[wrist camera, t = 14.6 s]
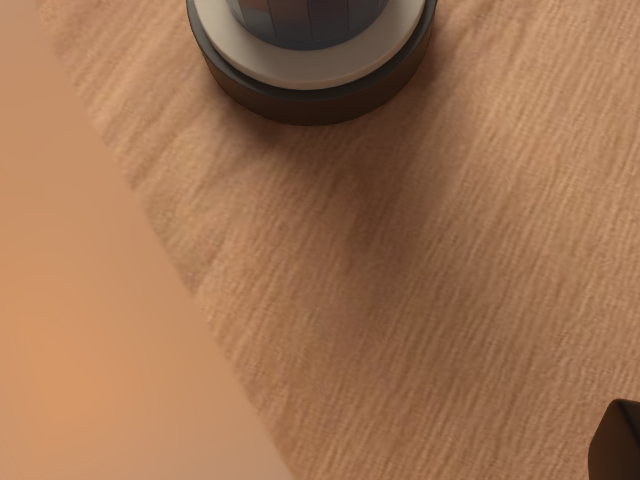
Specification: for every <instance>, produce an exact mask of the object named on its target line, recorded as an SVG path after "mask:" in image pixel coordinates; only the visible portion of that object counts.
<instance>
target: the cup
mask: <svg viewBox="0 0 640 480" xmlns="http://www.w3.org/2000/svg"><path fill="white" fill-rule="evenodd" d="M388 1H389V0H226V2H227V4H228V6H229V8H230V10H231V12H232V14H233V15H234V17H235V18H236V19H237V21H238V22H239V23H240V24H241V25H242V26H243V27H244V28H245V29H246V30H247V31H248V32H250V33H251V34H252V35H254V36H255V37H257V38H259V39H260V40H262V41H264V42H266V43H269V44H271V45H274V46H277V47H281V48H284V49H291V50H303V51H310V50H319V49H324V48H329V47H333V46H336V45H339V44H341V43H344V42H346V41H348V40H350V39H352V38H354V37H355V36H357V35H359V34H360V33H362V32H363V31H364V30H365V29H367V28H368V27H369V26H370V25H371V24H372V23H373V22H374V21H375V20H376V19H377V18H378V17H379V16H380V14H381V13H382V11H383V10H384V9H385V7H386V5H387V3H388Z"/></svg>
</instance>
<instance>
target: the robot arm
mask: <svg viewBox="0 0 640 480" xmlns="http://www.w3.org/2000/svg"><path fill="white" fill-rule="evenodd" d="M588 471H589V480H640V402H637V401H631V400H626V399H615V400H613V401H612V402H611V403H610V404H609V406H608V407H607V409H606V411H605V413H604V416H603V418H602V420H601V422H600V424H599V426H598V428H597V430H596V432H595V435H594V437H593V439H592V441H591V443H590V447H589V452H588Z"/></svg>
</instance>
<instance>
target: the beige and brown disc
mask: <svg viewBox="0 0 640 480" xmlns="http://www.w3.org/2000/svg"><path fill="white" fill-rule="evenodd" d="M186 4H187V13H188V18H189V22H190V26H191V29H192V32H193V34H194V36H195V39H196V41H197V43H198V45H199V47H200V49H201V52H202V54H203V56H204V58H205V60H206V62H207V64H208V66H209V68H210V70H211V72H212V74H213V75H214V77H215V78H216V80H217V81H218V83H219V84H220V85H221V86H222V87H223V89H224V90H225V91H226V92H227V93H228V94H229V95H230V96H231V97H233V98H234V99H235V100H236V101H237V102H238V103H240V104H241V105H243V106H244V107H246V108H247V109H249V110H251V111H253V112H255V113H257V114H259V115H261V116H263V117H266V118H269V119H272V120H275V121H278V122H282V123H288V124H293V125H305V126H316V125H328V124H334V123H340V122H344V121H347V120H350V119H353V118H357V117H359V116H361V115H363V114H366V113H368V112H370V111H372V110H374V109H375V108H377V107H379V106H380V105H382V104H384V103H385V102H386V101H388V100H389V99H390V98H391V97H393V96H394V95H395V94H397V93H398V92H399V91H400V90H401V88H402V87H403V86H404V85H405V84H406V83H407V82H408V81H409V80H410V78H411V77H412V76H413V74H414V73H415V72H416V70H417V68H418V66H419V65H420V63H421V61H422V59H423V57H424V55H425V52H426V49H427V47H428V44H429V39H430V35H431V30H432V25H433V20H434V15H435V9H436V4H437V0H389V1H388V3H387V5H386V7H385V9H384V10H383V11H382V13H381V14H380V16H379V17H378V18H377V19H376V20H375V21H374V22H373V23H372V24H371V25H370V26H369V27H368V28H367V29H365V30H364V31H363V32H362V33H360V34H359V35H357V36H355V37H354V38H352V39H350V40H348V41H346V42H344V43H341V44H339V45H336V46H333V47H329V48H324V49H319V50H310V51H303V50H291V49H284V48H281V47H277V46H274V45H271V44H269V43H266V42H264V41H262V40H260V39H259V38H257V37H255V36H254V35H252V34H251V33H250V32H248V31H247V30H246V29H245V28H244V27H243V26H242V25H241V24H240V23H239V22H238V21H237V19H236V18H235V17H234V15H233V14H232V12H231V10H230V8H229V6H228V4H227V2H226V0H186Z"/></svg>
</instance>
